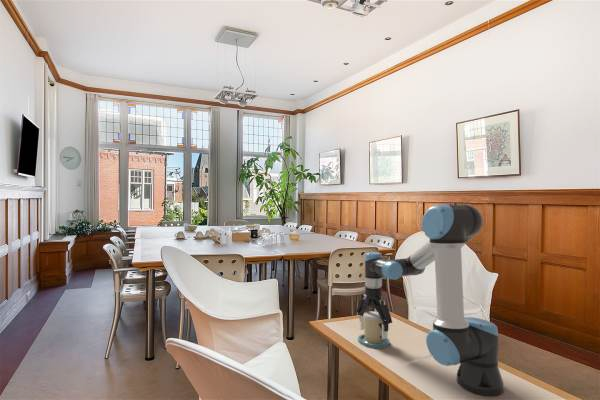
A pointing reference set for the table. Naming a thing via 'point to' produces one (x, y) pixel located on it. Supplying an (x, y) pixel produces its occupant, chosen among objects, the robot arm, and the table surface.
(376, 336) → the coffee cup
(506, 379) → the table surface
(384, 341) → the saucer
